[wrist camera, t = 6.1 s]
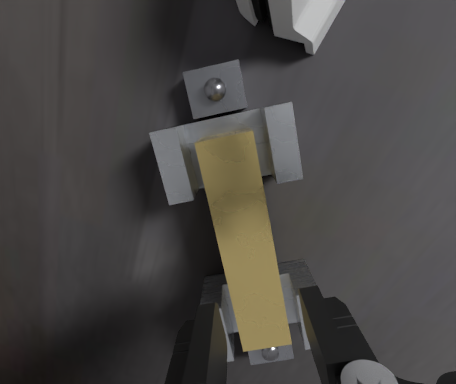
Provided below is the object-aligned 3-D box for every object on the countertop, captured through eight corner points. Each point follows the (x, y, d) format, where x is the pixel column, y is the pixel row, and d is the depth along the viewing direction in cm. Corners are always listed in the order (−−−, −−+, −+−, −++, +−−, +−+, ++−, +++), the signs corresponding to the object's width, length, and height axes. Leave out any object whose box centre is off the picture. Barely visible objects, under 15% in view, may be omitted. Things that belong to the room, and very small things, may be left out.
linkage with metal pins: (223, 350, 24) (222, 397, 20) (154, 83, 18) (133, 75, 14) (316, 335, 23) (332, 380, 19) (272, 56, 18) (283, 41, 14)
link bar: (242, 318, 21) (243, 351, 18) (200, 138, 18) (194, 142, 15) (283, 311, 21) (291, 344, 18) (249, 127, 17) (253, 130, 14)
